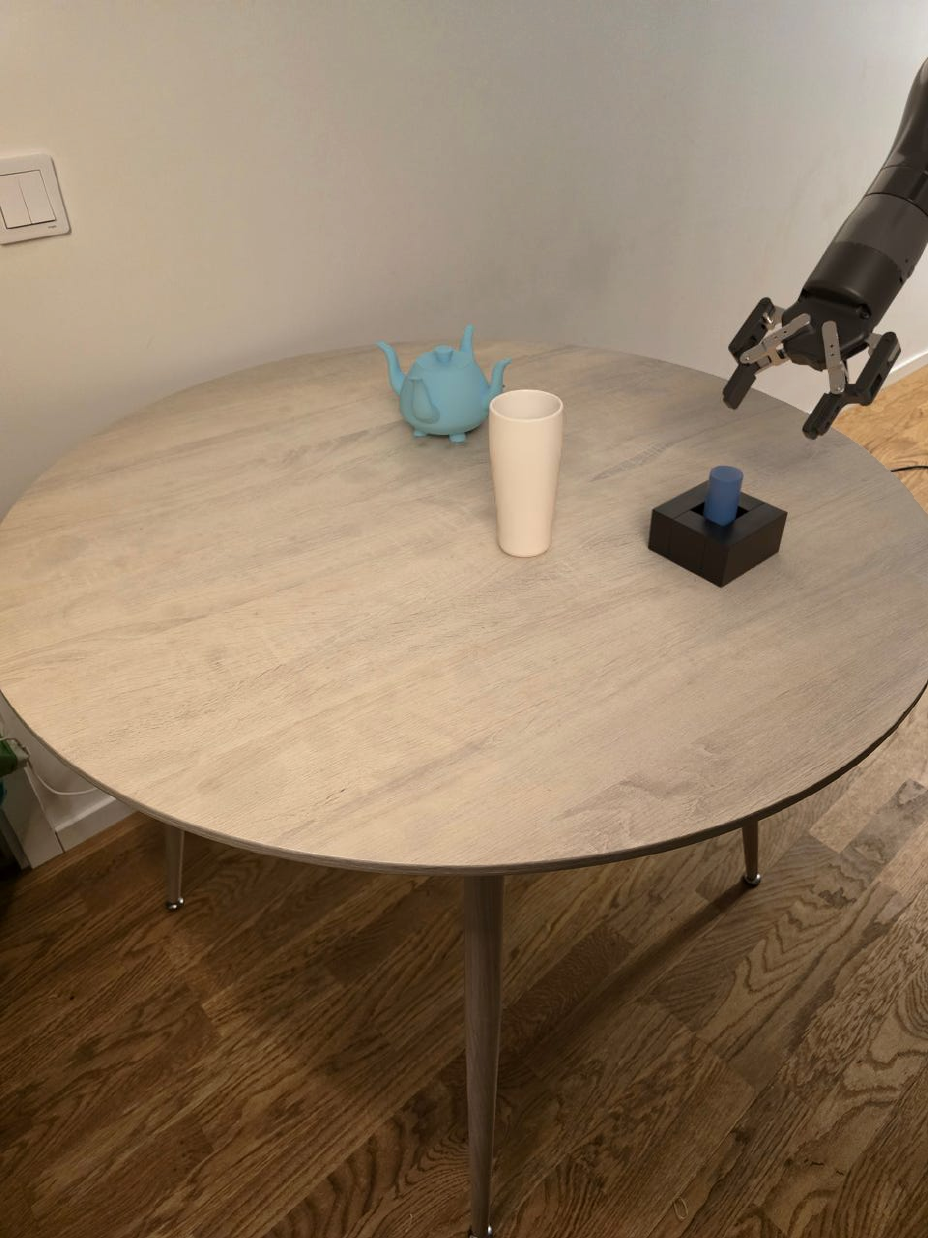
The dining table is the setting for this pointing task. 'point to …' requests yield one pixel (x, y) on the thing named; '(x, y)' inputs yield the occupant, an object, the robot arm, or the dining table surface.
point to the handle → (723, 494)
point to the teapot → (444, 389)
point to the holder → (716, 535)
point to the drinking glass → (525, 467)
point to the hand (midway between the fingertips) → (766, 420)
